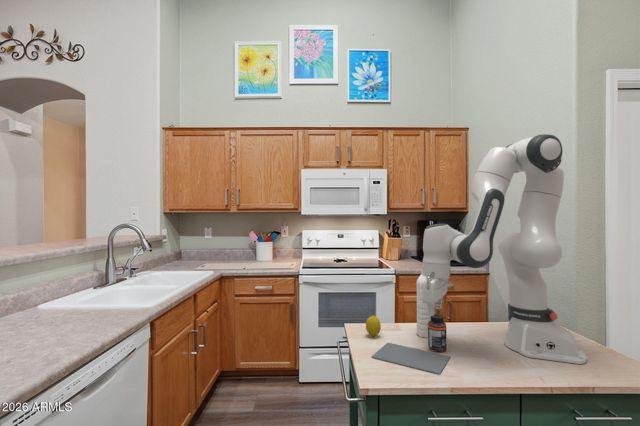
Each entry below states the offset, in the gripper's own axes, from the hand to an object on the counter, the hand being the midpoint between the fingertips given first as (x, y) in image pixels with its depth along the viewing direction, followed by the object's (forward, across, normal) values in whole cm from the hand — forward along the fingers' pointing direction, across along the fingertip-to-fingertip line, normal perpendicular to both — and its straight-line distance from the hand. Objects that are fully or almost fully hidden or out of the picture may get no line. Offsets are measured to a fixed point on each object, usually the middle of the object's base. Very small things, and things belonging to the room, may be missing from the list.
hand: (435, 311), depth 110 cm
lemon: (+13, 0, +22) cm, 26 cm away
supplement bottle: (+13, 0, -1) cm, 13 cm away
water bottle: (+13, +13, +5) cm, 19 cm away
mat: (+13, -11, +5) cm, 18 cm away
